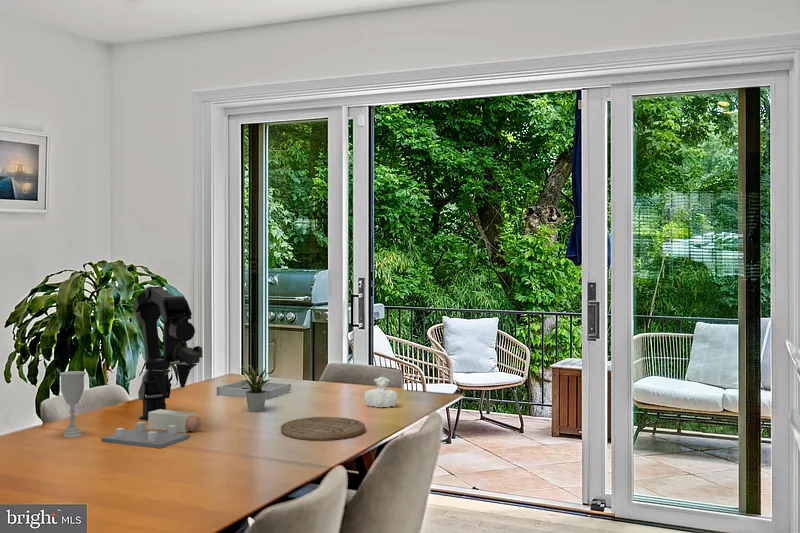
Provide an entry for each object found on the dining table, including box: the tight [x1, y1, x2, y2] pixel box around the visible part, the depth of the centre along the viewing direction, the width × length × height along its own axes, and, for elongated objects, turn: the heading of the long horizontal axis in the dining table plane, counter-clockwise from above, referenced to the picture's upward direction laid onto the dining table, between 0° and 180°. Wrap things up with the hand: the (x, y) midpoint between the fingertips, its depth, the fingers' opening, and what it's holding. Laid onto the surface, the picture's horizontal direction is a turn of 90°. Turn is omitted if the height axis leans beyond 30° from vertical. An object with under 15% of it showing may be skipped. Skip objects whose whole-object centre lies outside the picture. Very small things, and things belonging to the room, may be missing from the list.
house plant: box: [238, 363, 277, 413], centre depth 251 cm, size 14×14×16 cm
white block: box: [147, 409, 202, 434], centre depth 223 cm, size 16×5×5 cm, turn 65°
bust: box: [363, 376, 399, 408], centre depth 260 cm, size 12×8×11 cm
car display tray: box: [216, 380, 292, 400], centre depth 282 cm, size 22×17×3 cm
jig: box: [101, 421, 191, 449], centre depth 209 cm, size 20×13×4 cm, turn 69°
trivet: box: [280, 416, 366, 442], centre depth 222 cm, size 25×25×2 cm
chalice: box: [58, 370, 87, 438], centre depth 214 cm, size 7×7×18 cm
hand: (173, 389), depth 223 cm, fingers open, 9 cm apart
